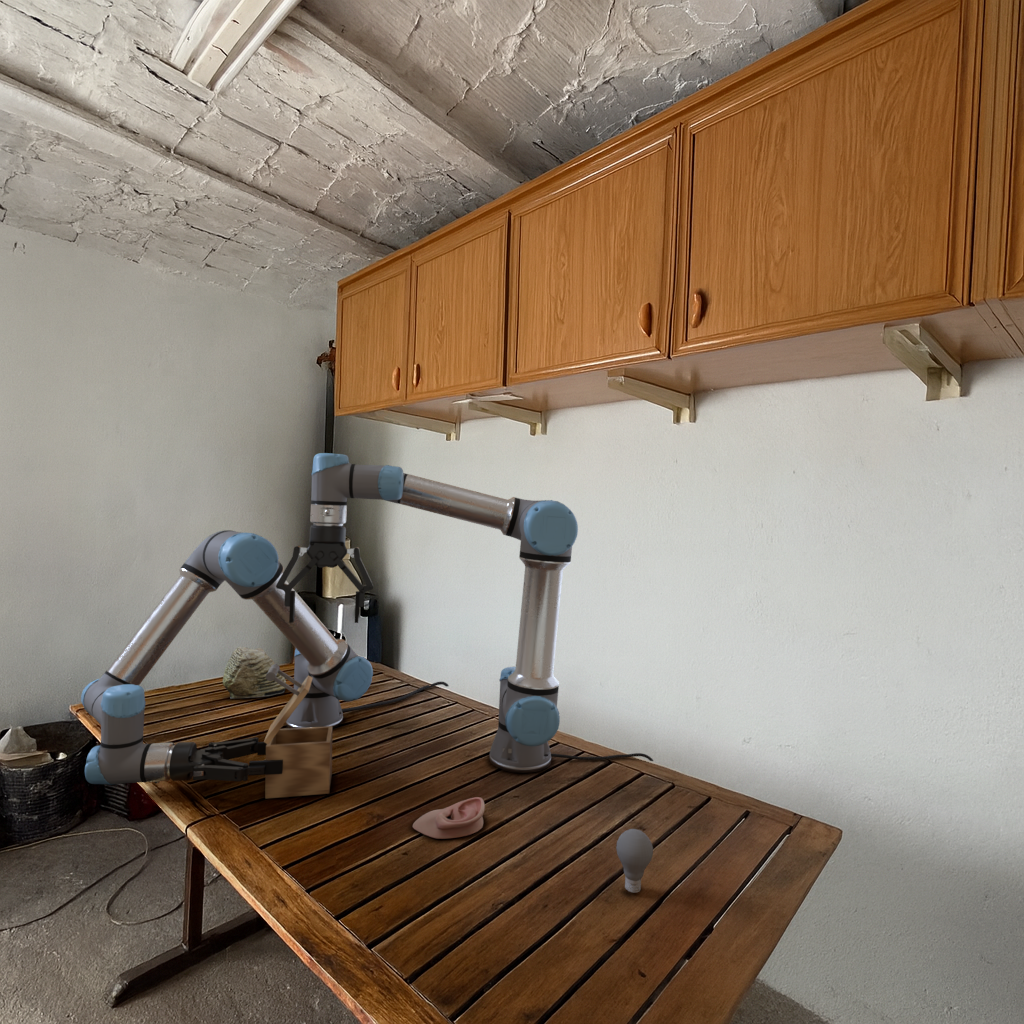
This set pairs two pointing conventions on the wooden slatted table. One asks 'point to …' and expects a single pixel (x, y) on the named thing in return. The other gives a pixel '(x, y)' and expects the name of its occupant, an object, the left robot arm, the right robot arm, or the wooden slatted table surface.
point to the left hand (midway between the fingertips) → (285, 756)
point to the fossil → (250, 674)
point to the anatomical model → (453, 820)
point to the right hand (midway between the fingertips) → (324, 621)
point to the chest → (300, 762)
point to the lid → (292, 702)
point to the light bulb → (634, 857)
